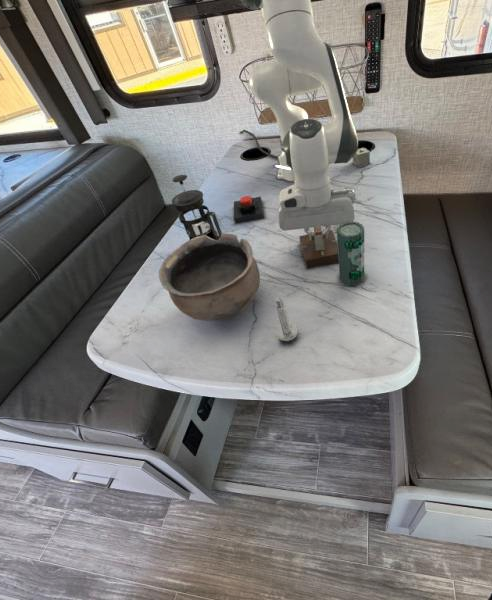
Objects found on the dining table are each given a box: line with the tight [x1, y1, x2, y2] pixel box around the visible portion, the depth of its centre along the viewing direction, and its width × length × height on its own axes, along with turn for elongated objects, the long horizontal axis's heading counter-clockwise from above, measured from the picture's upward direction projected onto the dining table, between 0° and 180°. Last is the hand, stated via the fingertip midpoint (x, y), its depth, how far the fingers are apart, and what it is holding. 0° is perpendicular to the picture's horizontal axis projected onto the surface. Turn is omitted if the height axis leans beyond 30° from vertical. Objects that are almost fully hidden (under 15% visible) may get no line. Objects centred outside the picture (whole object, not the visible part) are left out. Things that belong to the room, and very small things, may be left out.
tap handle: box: [313, 226, 324, 251], centre depth 93 cm, size 6×2×5 cm, turn 1°
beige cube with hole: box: [352, 147, 371, 168], centre depth 134 cm, size 5×5×5 cm
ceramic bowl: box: [158, 232, 261, 322], centre depth 82 cm, size 22×22×15 cm
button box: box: [233, 196, 265, 224], centre depth 118 cm, size 12×10×4 cm
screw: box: [275, 296, 299, 343], centre depth 72 cm, size 13×5×5 cm
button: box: [239, 195, 252, 206], centre depth 116 cm, size 4×4×2 cm
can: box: [336, 221, 365, 286], centre depth 83 cm, size 6×6×15 cm
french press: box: [171, 174, 223, 241], centre depth 99 cm, size 12×9×23 cm
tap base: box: [299, 229, 339, 269], centre depth 96 cm, size 12×10×3 cm
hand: (318, 238), depth 94 cm, fingers closed on tap handle, 2 cm apart
